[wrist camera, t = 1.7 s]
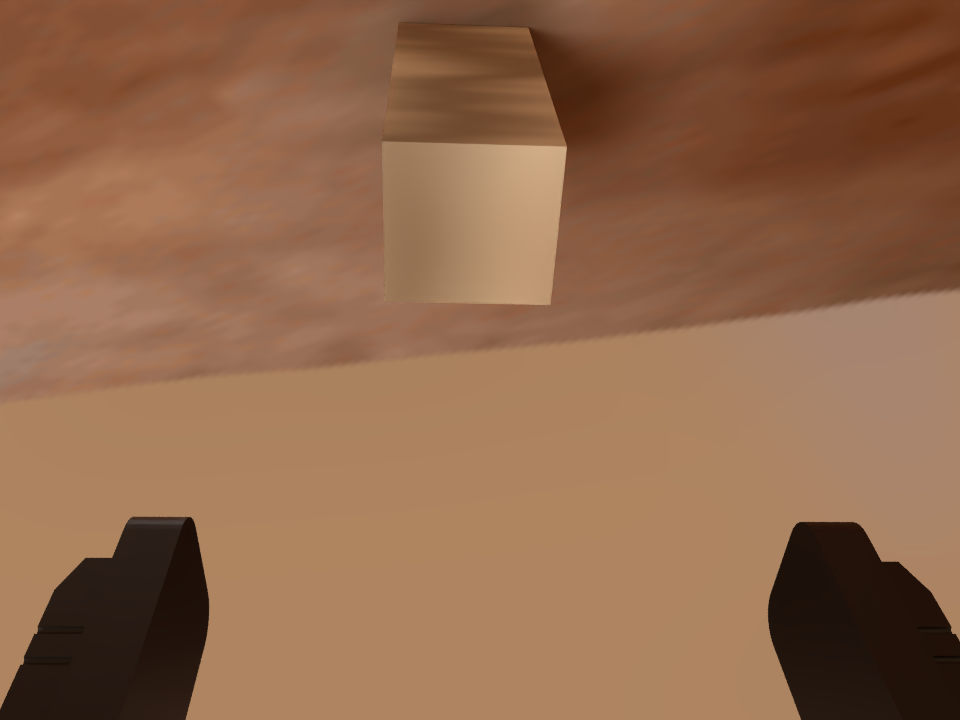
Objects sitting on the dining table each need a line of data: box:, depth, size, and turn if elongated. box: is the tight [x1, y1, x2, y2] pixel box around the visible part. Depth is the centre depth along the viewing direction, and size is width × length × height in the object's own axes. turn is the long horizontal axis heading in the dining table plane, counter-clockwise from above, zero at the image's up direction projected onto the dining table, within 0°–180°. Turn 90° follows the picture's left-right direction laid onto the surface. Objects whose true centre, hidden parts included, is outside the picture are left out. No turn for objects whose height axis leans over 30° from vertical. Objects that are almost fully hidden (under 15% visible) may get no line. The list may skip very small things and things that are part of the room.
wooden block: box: [382, 23, 567, 305], centre depth 25 cm, size 4×4×10 cm
